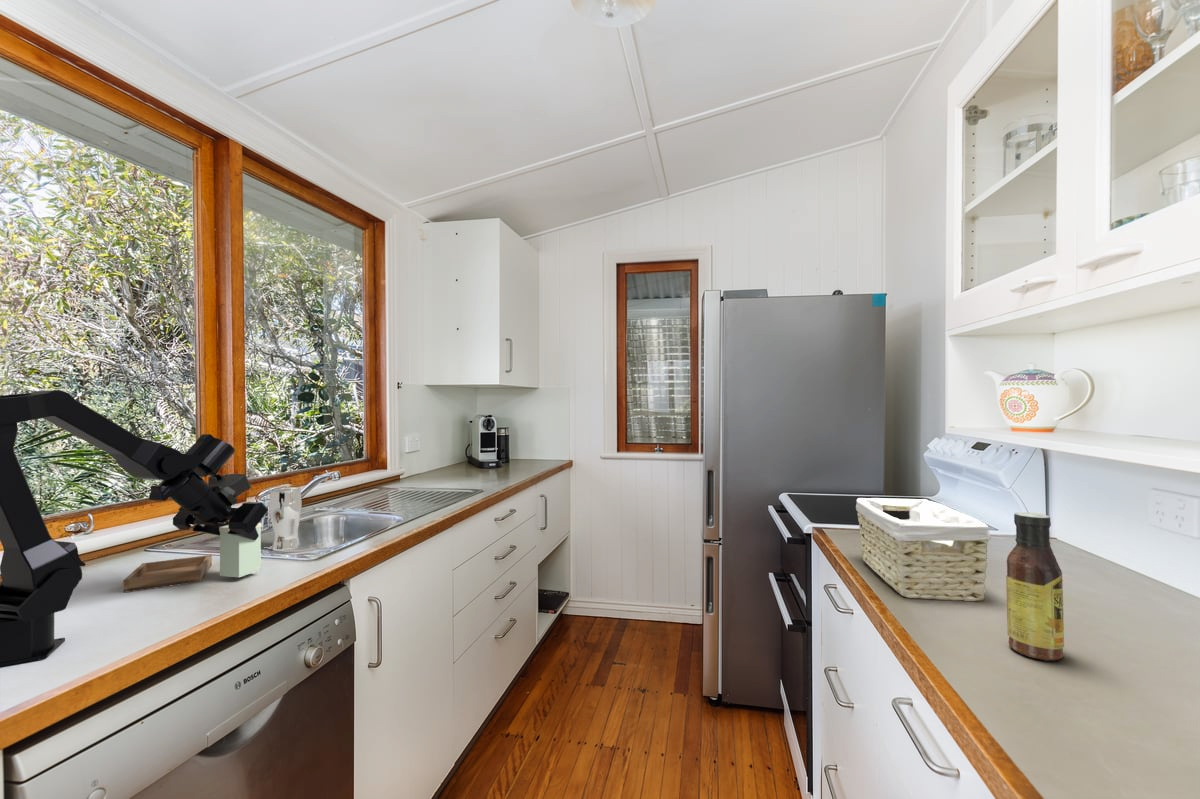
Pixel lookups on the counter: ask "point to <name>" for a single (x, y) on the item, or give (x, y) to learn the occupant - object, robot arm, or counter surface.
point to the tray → (168, 573)
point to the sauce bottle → (1034, 591)
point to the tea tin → (239, 553)
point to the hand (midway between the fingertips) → (246, 537)
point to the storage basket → (924, 548)
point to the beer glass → (285, 517)
